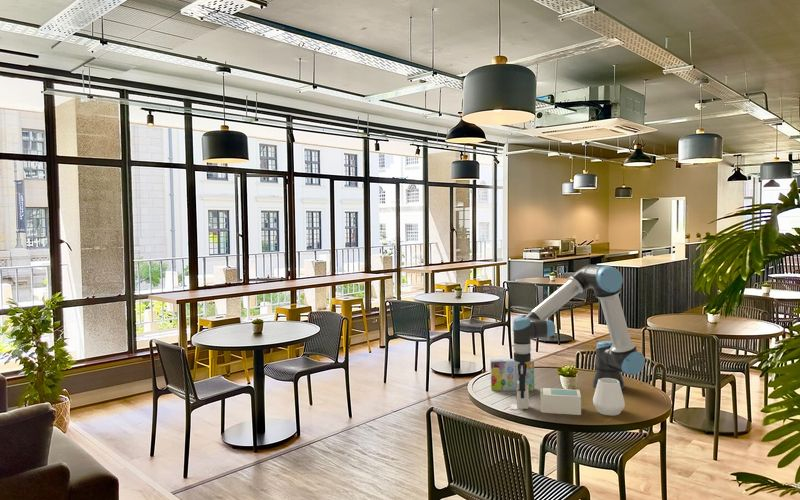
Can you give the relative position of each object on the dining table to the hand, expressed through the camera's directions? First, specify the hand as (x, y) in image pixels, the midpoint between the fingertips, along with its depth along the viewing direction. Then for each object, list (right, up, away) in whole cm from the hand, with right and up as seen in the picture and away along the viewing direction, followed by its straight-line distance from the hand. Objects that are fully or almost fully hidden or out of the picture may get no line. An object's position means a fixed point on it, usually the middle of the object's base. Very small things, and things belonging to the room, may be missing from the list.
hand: (522, 402), depth 252 cm
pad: (-2, -2, +1) cm, 3 cm away
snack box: (+1, -1, +27) cm, 27 cm away
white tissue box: (+16, -2, -4) cm, 17 cm away
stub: (0, -2, 0) cm, 2 cm away
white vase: (+36, -2, -8) cm, 37 cm away
